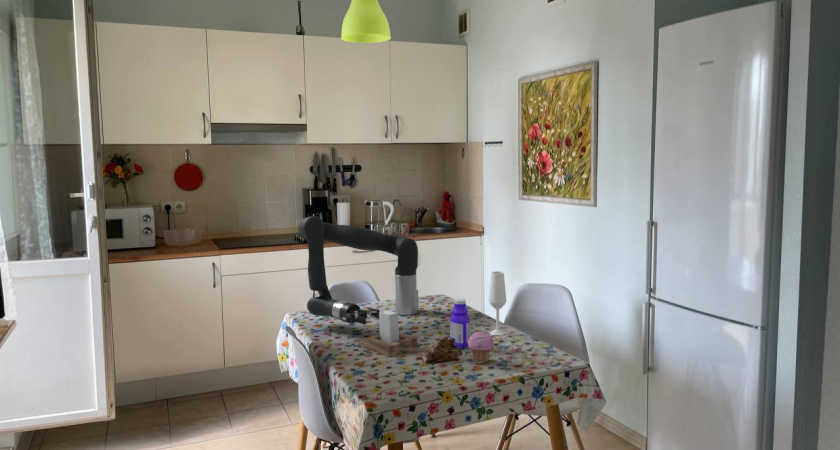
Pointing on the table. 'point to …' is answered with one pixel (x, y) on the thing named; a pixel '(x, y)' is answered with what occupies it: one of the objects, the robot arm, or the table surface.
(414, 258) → the robot arm
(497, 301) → the champagne flute
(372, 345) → the walnut socket block
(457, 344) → the bottle
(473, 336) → the cupcake
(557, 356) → the table surface
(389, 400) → the table surface
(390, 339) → the skincare box
